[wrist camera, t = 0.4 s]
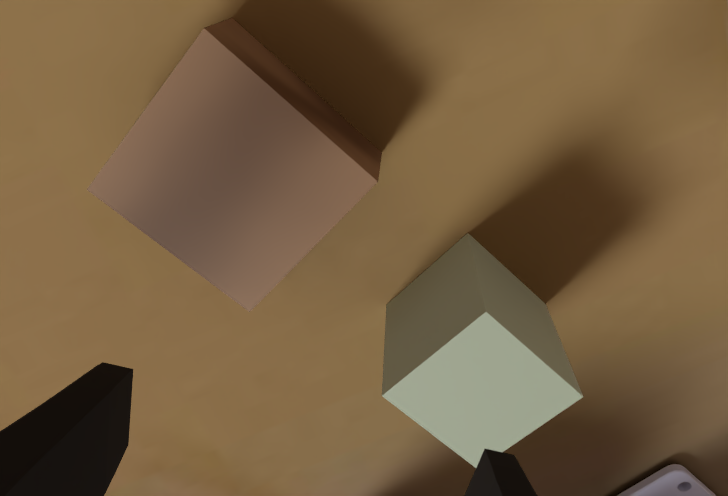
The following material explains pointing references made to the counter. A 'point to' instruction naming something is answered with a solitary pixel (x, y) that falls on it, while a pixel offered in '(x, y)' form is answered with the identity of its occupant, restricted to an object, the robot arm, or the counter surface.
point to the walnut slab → (237, 165)
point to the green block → (474, 354)
